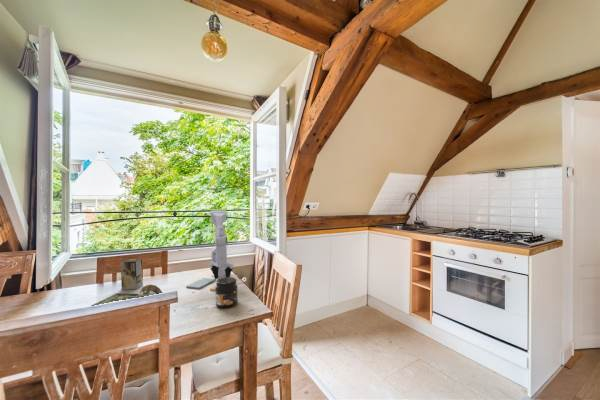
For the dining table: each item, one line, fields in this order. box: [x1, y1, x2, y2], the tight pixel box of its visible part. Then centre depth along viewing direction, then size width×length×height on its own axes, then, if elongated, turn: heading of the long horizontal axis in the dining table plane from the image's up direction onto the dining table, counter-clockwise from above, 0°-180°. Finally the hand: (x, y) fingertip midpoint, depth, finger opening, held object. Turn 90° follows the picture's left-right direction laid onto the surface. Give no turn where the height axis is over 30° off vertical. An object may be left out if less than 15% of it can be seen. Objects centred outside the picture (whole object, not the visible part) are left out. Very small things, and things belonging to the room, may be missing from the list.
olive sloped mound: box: [90, 284, 163, 306], centre depth 127 cm, size 33×8×20 cm
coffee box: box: [120, 258, 144, 290], centre depth 148 cm, size 9×6×16 cm
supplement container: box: [215, 276, 239, 309], centre depth 123 cm, size 10×10×12 cm
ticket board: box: [186, 277, 217, 290], centre depth 152 cm, size 15×9×1 cm, turn 163°
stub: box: [209, 276, 226, 292], centre depth 147 cm, size 15×5×5 cm, turn 163°
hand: (222, 279), depth 147 cm, fingers open, 7 cm apart
